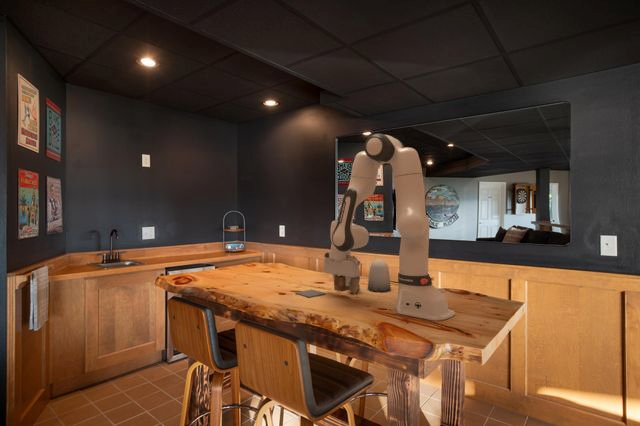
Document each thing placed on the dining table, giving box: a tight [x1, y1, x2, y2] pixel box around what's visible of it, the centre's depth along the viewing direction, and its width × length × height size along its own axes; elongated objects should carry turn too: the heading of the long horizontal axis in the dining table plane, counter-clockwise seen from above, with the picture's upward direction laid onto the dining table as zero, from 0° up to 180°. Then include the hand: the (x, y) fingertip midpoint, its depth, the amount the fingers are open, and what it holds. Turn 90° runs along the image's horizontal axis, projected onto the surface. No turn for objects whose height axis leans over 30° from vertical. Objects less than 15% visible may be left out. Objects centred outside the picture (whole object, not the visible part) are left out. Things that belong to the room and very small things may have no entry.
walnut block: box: [333, 275, 351, 292], centre depth 164 cm, size 5×5×6 cm
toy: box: [367, 258, 392, 293], centre depth 177 cm, size 11×11×15 cm
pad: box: [295, 289, 327, 299], centre depth 168 cm, size 10×10×1 cm
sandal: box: [349, 260, 361, 295], centre depth 177 cm, size 8×20×15 cm, turn 175°
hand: (341, 285), depth 164 cm, fingers closed on walnut block, 5 cm apart
